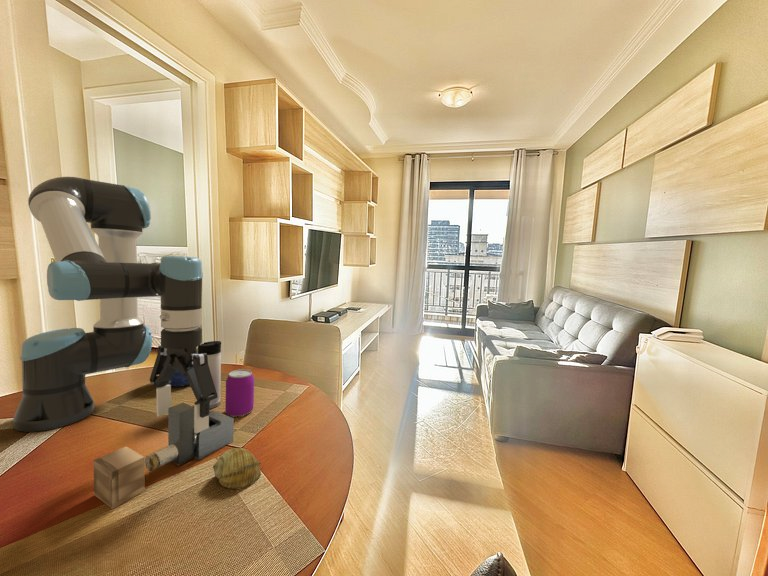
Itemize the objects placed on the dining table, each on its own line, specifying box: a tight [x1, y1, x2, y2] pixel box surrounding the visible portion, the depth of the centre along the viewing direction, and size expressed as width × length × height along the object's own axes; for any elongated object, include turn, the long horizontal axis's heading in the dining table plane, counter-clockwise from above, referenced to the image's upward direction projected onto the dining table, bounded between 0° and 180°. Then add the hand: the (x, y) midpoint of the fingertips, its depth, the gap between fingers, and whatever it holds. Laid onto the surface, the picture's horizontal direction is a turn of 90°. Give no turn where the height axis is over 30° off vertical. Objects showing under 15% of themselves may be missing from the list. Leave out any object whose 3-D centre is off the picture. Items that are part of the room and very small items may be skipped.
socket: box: [93, 446, 146, 510], centre depth 60 cm, size 5×7×7 cm
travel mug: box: [197, 340, 222, 409], centre depth 97 cm, size 6×7×20 cm
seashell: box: [212, 447, 262, 490], centre depth 67 cm, size 10×7×8 cm
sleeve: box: [193, 410, 235, 461], centre depth 77 cm, size 9×6×7 cm
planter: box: [166, 347, 198, 387], centre depth 112 cm, size 12×12×11 cm
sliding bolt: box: [144, 402, 218, 472], centre depth 72 cm, size 16×4×12 cm, turn 154°
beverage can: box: [225, 368, 255, 418], centre depth 94 cm, size 8×8×12 cm
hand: (181, 421), depth 70 cm, fingers open, 13 cm apart
